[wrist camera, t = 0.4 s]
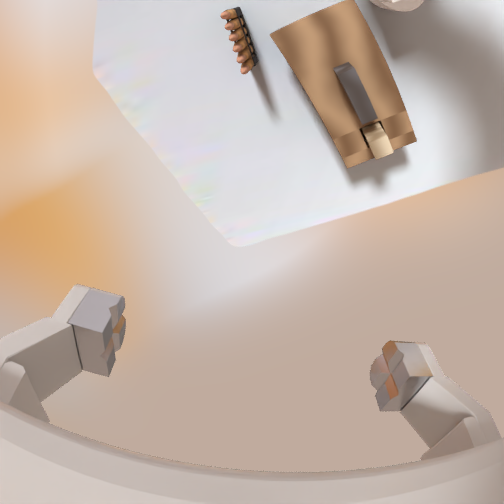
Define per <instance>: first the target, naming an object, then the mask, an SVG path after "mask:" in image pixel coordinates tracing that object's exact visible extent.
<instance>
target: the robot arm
mask: <svg viewBox="0 0 504 504" xmlns="http://www.w3.org/2000/svg"><path fill="white" fill-rule="evenodd" d="M124 308H125V298H124V297H123V296H121V295H117V294H113V293H109V292H106V291H102V290H99V289H95V288H90V287H87V286H84V285H80V284H76V285H74V286H73V287H72V289H71V290H70V292H69V293H68V294H67V296H66V297H65V299H64V300H63V301H62V303H61V304H60V306H59V307H58V308H57V310H56V311H55V313H54V314H53V316H52V317H51V318H49V317H45V318H43V319H41V320H39V321H36V322H34V323H32V324H30V325H28V326H26V327H24V328H21V329H19V330H17V331H15V332H13V333H11V334H9V335H6V336H4V337H2V338H0V504H504V438H501V436H500V433H499V431H498V429H497V427H496V425H495V422H494V420H493V418H492V416H491V414H490V412H489V411H488V410H487V409H485V408H484V407H483V406H482V405H480V403H478V402H477V401H476V400H475V399H474V398H472V397H471V396H470V395H469V394H468V393H467V392H465V391H464V390H463V389H462V388H460V386H458V385H457V384H456V383H454V382H453V381H452V380H451V379H450V378H449V377H445V376H444V374H443V372H442V370H441V368H440V366H439V364H438V362H437V360H436V358H435V357H434V355H433V353H432V351H431V349H430V347H429V346H428V345H427V344H426V343H419V342H401V341H389V342H387V343H386V344H385V345H384V347H383V348H382V352H383V354H382V355H380V356H379V357H377V358H376V359H375V361H374V363H373V364H372V365H371V370H370V380H371V384H372V386H373V387H375V388H376V389H377V393H376V395H375V396H376V399H377V403H378V406H379V409H380V411H401V412H400V413H401V414H402V415H403V416H404V418H405V419H406V420H407V421H408V422H409V424H410V425H411V426H412V427H413V428H414V430H415V431H416V432H417V433H418V434H419V436H420V437H421V438H422V439H423V440H424V442H425V443H426V444H427V445H428V447H429V448H430V449H429V450H428V451H427V452H426V453H424V454H423V455H422V457H421V461H416V462H410V463H405V464H398V465H392V466H385V467H377V468H368V469H358V470H346V471H329V472H268V471H251V470H238V469H229V468H220V467H212V466H204V465H198V464H192V463H185V462H180V461H174V460H169V459H164V458H159V457H155V456H151V455H146V454H142V453H138V452H134V451H130V450H126V449H123V448H119V447H116V446H112V445H109V444H105V443H102V442H99V441H96V440H93V439H90V438H87V437H83V436H81V435H78V434H75V433H73V432H70V431H67V430H64V429H62V428H59V427H57V426H54V425H52V424H50V423H49V418H48V416H47V414H46V412H45V411H44V408H43V407H42V405H41V403H40V402H42V401H43V400H44V399H46V398H47V397H48V396H50V395H51V394H52V393H54V392H55V391H56V390H58V389H59V388H60V387H61V386H63V385H64V384H66V383H67V382H68V381H70V380H71V379H72V378H74V377H75V376H77V375H78V374H79V373H80V372H82V370H85V371H88V372H92V373H95V374H99V375H103V376H107V377H109V375H110V373H111V370H112V368H113V365H114V363H115V360H116V359H115V352H116V351H117V350H119V349H120V348H121V345H122V343H123V339H124V335H125V327H126V319H125V318H124V316H123V315H122V313H123V311H124Z"/></svg>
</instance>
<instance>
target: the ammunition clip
mask: <svg viewBox="0 0 504 504" xmlns="http://www.w3.org/2000/svg"><path fill="white" fill-rule="evenodd" d="M221 18H223V19H226V20H227V24H226V25H225V29H226V30H230V31H231V34H230V36H229V40H230V41H234V42H235V44H234V47H233V51H234V52H238V57H237V62H238V63H242V65H241V73H242V74H246V73H248V72H249V71H250V70H251V69H252V67H253V65H254V66H256V64H257V62H258V59H257V56H256V53H255V50H254V47H253V44H252V41H251V38H250V35H249V32H248V29H247V26H246V24H245V21H244V18H243V15H242V12H241V10H240V7H237V8H233V9H230V10H226V11H224V12H223V13H222V14H221ZM230 19H231V20H230ZM229 20H230V21H229ZM232 30H234V31H232ZM237 40H238V41H237ZM236 41H237V42H236Z"/></svg>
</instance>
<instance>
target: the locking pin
mask: <svg viewBox="0 0 504 504" xmlns="http://www.w3.org/2000/svg"><path fill="white" fill-rule="evenodd" d="M361 130H362V132H363V134H364V136H365V138H366V140H367V142H368V144H369V146H370V148H371V150H372V152H373V155H374V157H375V159H376V160H377V159H379V158H382V157H385V156H387V155H390V154H392V153H394V152H393V149H392V147H391V144H390V141H389V139H388V136H387V135H386V133H385V131H384V130H383V128H382V127H381V125H380V124H379V122H378V121H377V122H375V123H372V124H370V125H367V126H365V127H363V128H361Z"/></svg>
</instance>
